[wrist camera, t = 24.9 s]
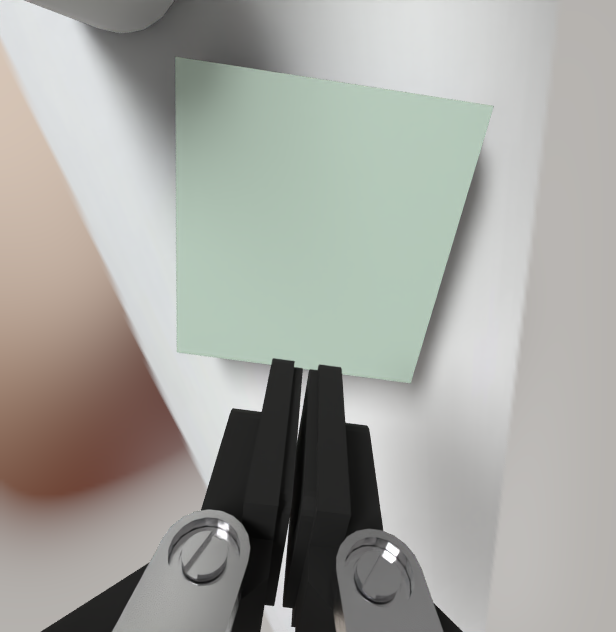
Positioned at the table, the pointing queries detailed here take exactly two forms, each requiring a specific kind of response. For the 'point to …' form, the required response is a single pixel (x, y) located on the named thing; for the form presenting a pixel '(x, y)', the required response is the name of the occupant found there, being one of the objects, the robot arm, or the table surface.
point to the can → (110, 12)
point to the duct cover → (314, 216)
